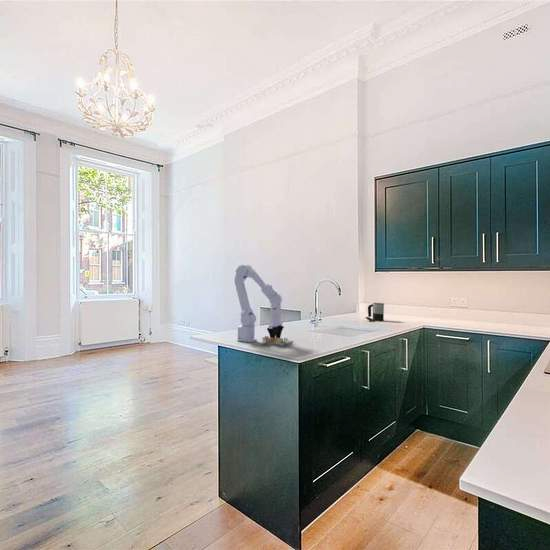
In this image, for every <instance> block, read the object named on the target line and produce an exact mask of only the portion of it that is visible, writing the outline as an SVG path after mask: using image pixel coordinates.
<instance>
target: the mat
mask: <svg viewBox="0 0 550 550" xmlns="http://www.w3.org/2000/svg"><path fill="white" fill-rule="evenodd" d="M292 343H294V341H293V340H288V345H287V346H285V345H284V340H283V344H277V343H267V345H263V342H262V343H261V344H260V346H263V347H279V348H288V347H289V346H290V345H291V344H292Z"/></svg>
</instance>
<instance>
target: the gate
mask: <svg viewBox="0 0 550 550" xmlns="http://www.w3.org/2000/svg"><path fill="white" fill-rule="evenodd" d="M264 337H267V343H277V344H283V341H284V338H281V337H280V338H276V337H275V338H272V337H270V336H268V335H266V336H264Z"/></svg>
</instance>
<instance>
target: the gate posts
mask: <svg viewBox="0 0 550 550" xmlns="http://www.w3.org/2000/svg"><path fill="white" fill-rule="evenodd" d="M261 339H262V343H263V345H267V337H265V336H264V337H262V338H261ZM283 341H284V345H285V346H287V345H288V341H289V339H288V338H287V337H284V338H283Z"/></svg>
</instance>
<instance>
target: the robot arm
mask: <svg viewBox="0 0 550 550" xmlns="http://www.w3.org/2000/svg"><path fill="white" fill-rule="evenodd" d="M247 278H251V279H252V280H253V281H254V282H255V283H256V284H257V285H258V286H259V287H260V288H261V292H262V293H263V295H264V296H265V297H266V298H267V299H268V300H269V303H270V323H269V324H268V327H267V328H266V330H267V332H268V334H269V337H272V338H281V336H282V332H283V330H284V325H283V322H282V304H281V303H282V301H283V297H282V296H281V295H280V294H279V293H278V292H277V291H276V290H274V287H273V286H272V285H271V284H268V283H267V284H266V282H264V280H263V278H262V277H261V276H260V275H259V274H258V273H257V272H256V270H255V269H254V268H253V267H252V266H251V265H249V264H247V265H244V264H241V265H238V267H237V268H236V269H235V276H234V280H233V281H234V285H235V289H236V294H237V297H238V301H239V305H240V309H241V311H240V324H239V325H238V327H237V340H236V342H244V343H246V342H248V343H254V342H255V341H257V338H255V323H256V321H257V316H256V315H255V313H254V311H253V309H252V307H251V305H250V300H249V297H248V293H247V289H246V284H245V281H246V280H247Z"/></svg>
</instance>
